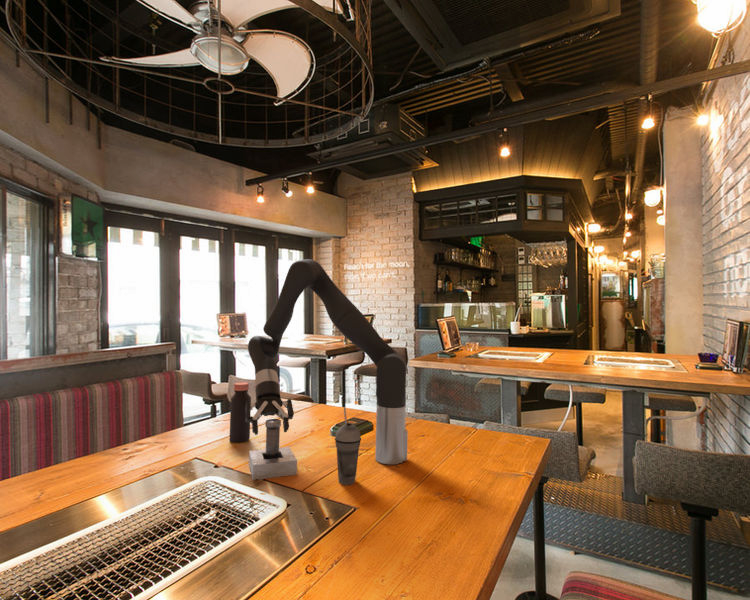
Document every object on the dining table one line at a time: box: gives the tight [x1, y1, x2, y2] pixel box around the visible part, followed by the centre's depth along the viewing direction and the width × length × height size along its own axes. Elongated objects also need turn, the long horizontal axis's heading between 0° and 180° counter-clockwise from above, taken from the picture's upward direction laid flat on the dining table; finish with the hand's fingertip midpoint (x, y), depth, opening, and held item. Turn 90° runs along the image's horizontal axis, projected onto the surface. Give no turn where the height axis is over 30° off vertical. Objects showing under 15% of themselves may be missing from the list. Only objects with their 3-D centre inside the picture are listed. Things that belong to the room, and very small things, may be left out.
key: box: [264, 418, 282, 460], centre depth 118 cm, size 4×4×14 cm
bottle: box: [229, 381, 252, 444], centre depth 143 cm, size 7×7×20 cm
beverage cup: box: [334, 407, 362, 486], centre depth 111 cm, size 7×7×20 cm
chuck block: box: [248, 446, 298, 481], centre depth 118 cm, size 12×12×4 cm
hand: (271, 432), depth 120 cm, fingers open, 8 cm apart
